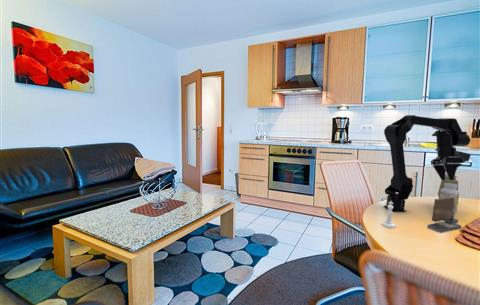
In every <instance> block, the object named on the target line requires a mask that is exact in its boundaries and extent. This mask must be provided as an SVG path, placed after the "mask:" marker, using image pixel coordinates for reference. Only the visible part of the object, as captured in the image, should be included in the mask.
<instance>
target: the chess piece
mask: <svg viewBox="0 0 480 305" xmlns="http://www.w3.org/2000/svg"><path fill="white" fill-rule="evenodd" d="M388 204H390V205H388V209H387V210H386V213H387V217H386V220H385V221H384V220H383V221H381V223H380V224H381V226H383V227H385V228H388V229H396V224H395V223H394V222H393V221H392V214H394V211H392V209H393V206H392V204H393V203H392V201H390V203H388Z"/></svg>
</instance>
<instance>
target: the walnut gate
mask: <svg viewBox="0 0 480 305" xmlns="http://www.w3.org/2000/svg"><path fill="white" fill-rule="evenodd" d="M456 201H457V197H455V196H451V197H447V198H440V199H439V198H435V199H434V202H433V203H434V204H433V208H432V217H431V221H432V222H434V223H438V222H443V220H448V219H455V213H456V212H455V208H456Z"/></svg>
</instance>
